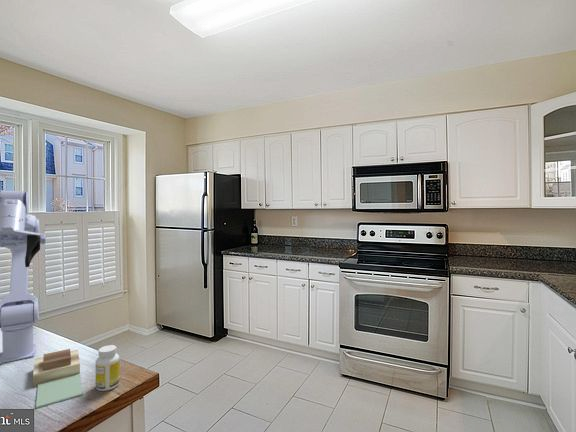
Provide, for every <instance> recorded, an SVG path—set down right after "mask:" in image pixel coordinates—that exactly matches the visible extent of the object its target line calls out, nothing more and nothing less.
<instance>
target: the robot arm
mask: <svg viewBox="0 0 576 432" xmlns="http://www.w3.org/2000/svg"><path fill="white" fill-rule="evenodd" d="M29 198H30V197H29V193H28V191H24V190H4V189H2V190H0V247H1V248H6V249H9V250H10V252H11V266H10V267H11V268H10V281H9V282H10V283H9V284H10V285H9V294H8V295H6V296H5V297H3V298H1V299H0V332H1V336H2V337H1V339H2V346H1V347H2V351H1V352H2V353H1V356H0V364H4V363H5V364H6V363H9V362H14V361H19V360H24V359H27V358H34V357H35V355H36V349H37V344H36V343H34V325H35V323H37V322H38V321H39V317H40V315H39V313H40V312H39V311H40V310H39V309H40V308H39V299H38V296H36V295H34V294H32V293H29V292H28V291H29V270H30V269H29V267H30V264H31V262H32V260H33V258H34V257H35V256H36V254H38V253H39V251H40V250H41V245H45V244H46V243H47V239H46V237H47V236H46V235H47V234H46V233H43V232H42V233H41V232H40V229H41V228H40V219H39V218H37V216H36V215H33V214H30V213H29V211H30V210H29V208H30V207H29V203H30V202H29V201H30V199H29Z"/></svg>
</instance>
